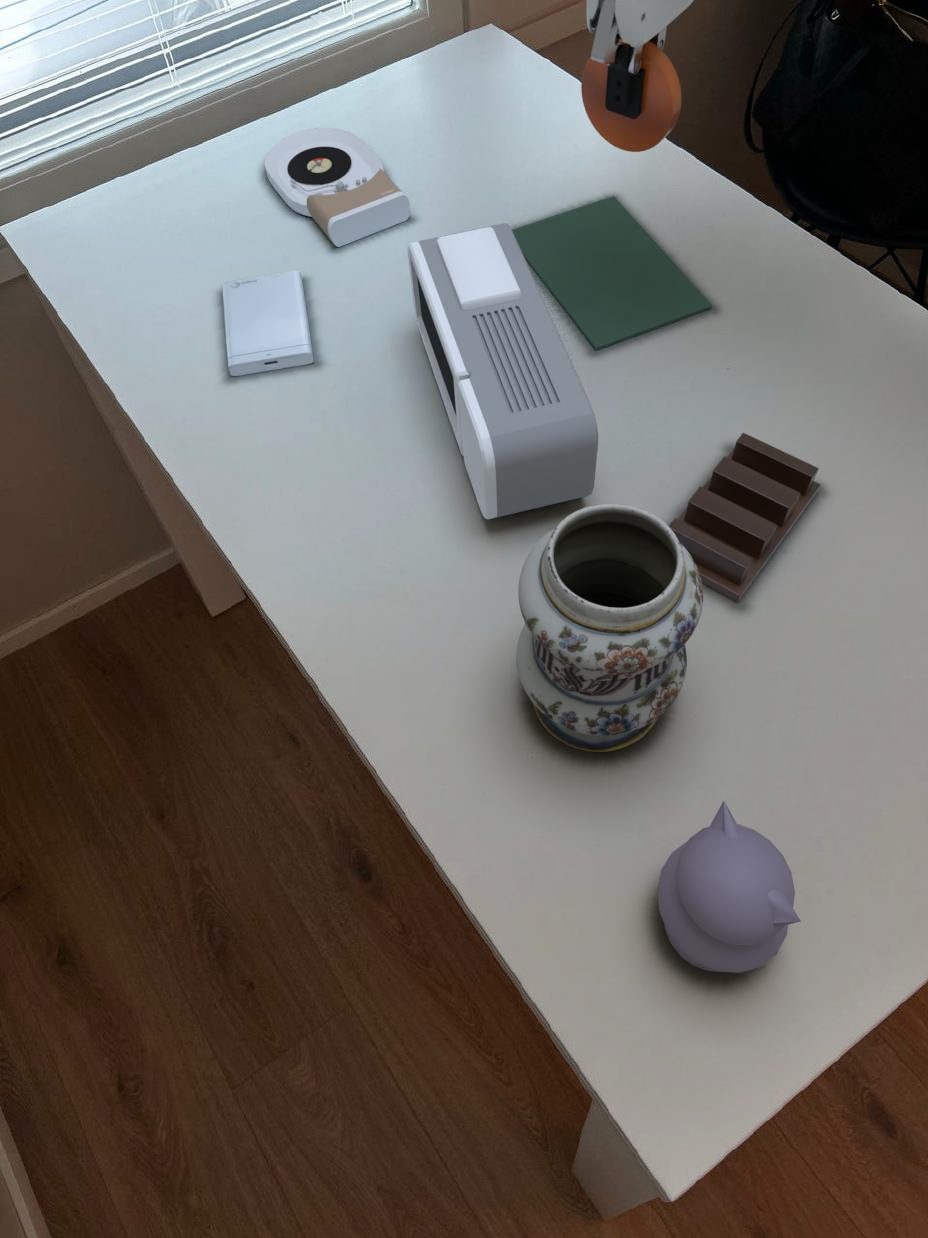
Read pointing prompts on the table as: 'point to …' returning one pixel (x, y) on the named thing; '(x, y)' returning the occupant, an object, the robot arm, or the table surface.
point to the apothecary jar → (606, 625)
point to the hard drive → (266, 323)
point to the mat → (608, 272)
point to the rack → (744, 513)
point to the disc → (655, 108)
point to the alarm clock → (502, 372)
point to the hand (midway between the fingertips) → (629, 104)
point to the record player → (335, 183)
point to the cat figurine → (726, 897)
